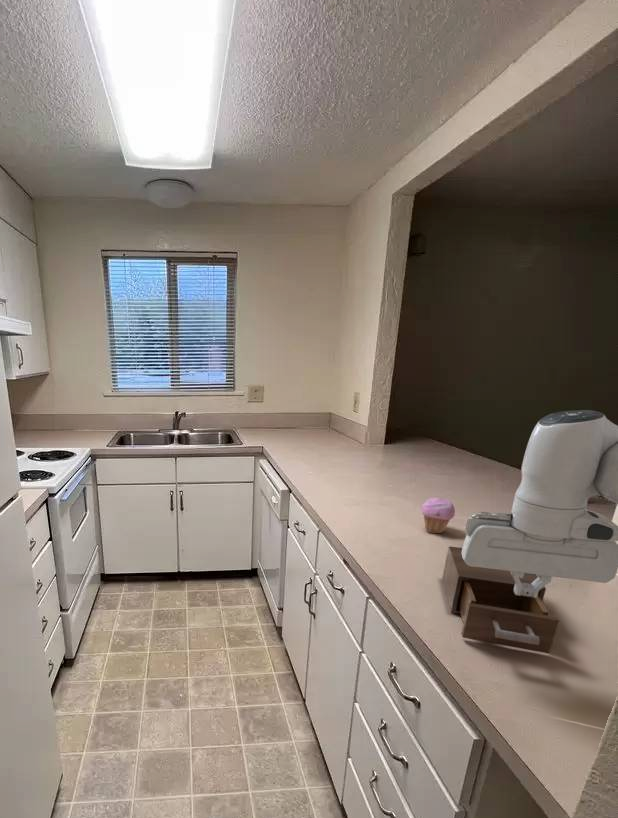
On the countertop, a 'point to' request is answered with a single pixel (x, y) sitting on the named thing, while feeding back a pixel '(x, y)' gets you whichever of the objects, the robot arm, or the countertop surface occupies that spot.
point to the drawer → (505, 617)
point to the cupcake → (437, 514)
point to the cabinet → (474, 577)
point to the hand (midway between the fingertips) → (524, 594)
